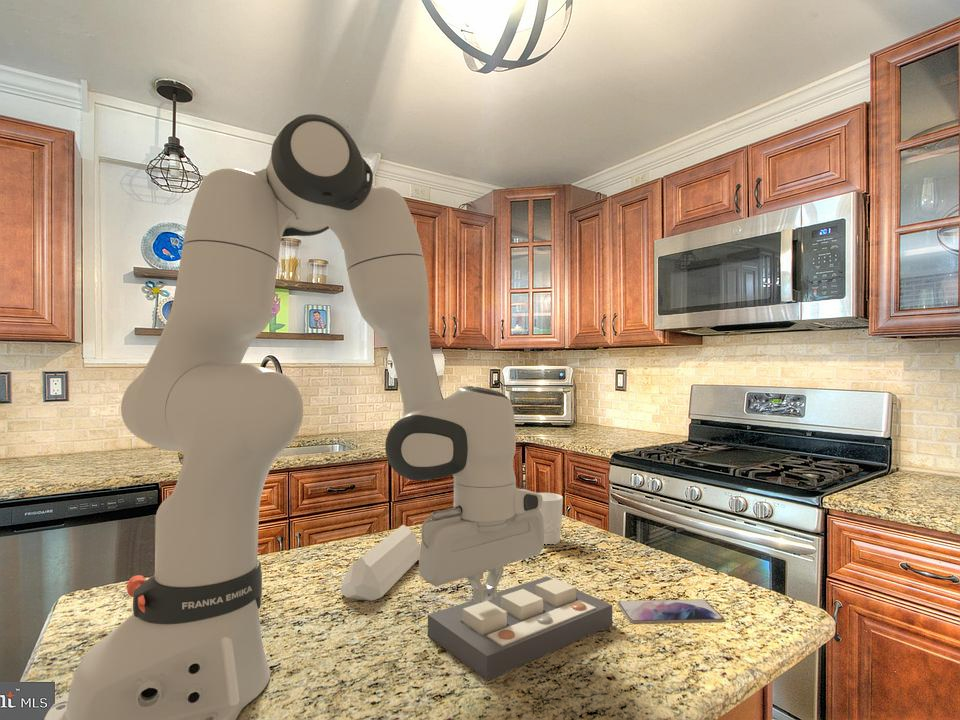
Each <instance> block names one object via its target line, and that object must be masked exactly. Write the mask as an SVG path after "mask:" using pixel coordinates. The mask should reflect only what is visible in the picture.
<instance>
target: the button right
mask: <svg viewBox="0 0 960 720" xmlns="http://www.w3.org/2000/svg"><path fill="white" fill-rule="evenodd" d="M576 587H577V586H574V585H571V584H570V583H567V582H565V581H563V580H560V579H558V578H552V580H549V581H546V582H543V583H540V584H537V585H536V595H537V596H539V597H541V598H543V602H545V603H547V604H549V605H551V606H553V607H559V606H561V605H564V604H567V603H569V602H572V601H575V600H576V589H577V588H576Z"/></svg>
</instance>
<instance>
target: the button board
mask: <svg viewBox="0 0 960 720" xmlns="http://www.w3.org/2000/svg"><path fill="white" fill-rule="evenodd" d="M552 579H553V578H552V577H549V576H543V577H541V578H538V579H533V580H532V581H528V582H524V583H522V584H518V585H515V586H513V587H510V588H506V589H503V590H500V591H497V597H496V598H493V599H491V600H488V601H489V602H491V603H492V604H494V605H496V606H498V607H499V608H501V596H503V595H506V594H509V593H512V592H515V591H518V590H521V589H524V590H526V591H529V592H531V593H533V594H535V595H536V585H537V584H540V583H543V582H546V581H549V580H552ZM476 604H479V603H478V602H476V601H475V600H474V599H472V600H469V601H466V602H463V603H460V604H459V603H458V604H456V605H453V606H450V607H447V608H445V609H441V610H438V611H435V612H431V613H428V614H427V637H429V638H430V639H432V640H433V641H434V642H436V643H437V644H438V645H439V646H441V647H442V648H443V649H445V650H446V651H447V652H449V653H450V654H452V656H454V657H455V658H456V659H458V660H459V661H460V662H461V663H463V664H465V665H466V666H467V667H468V668H470V669H471V671H474V672H475V673H476V674H477V675H479V677H482V678H483V679H484V680H485V681H491V680H492V679H494V678H496V677H499V676H501V675H503V674H506V673H508V672H510V671H512V670H516V668H519V667H522V666H524V665H526V664H528V663H530V662H532V661H535V660H537V659H539V658H541V657H544V656H546V655H548V654H551V653H553V652H554V651H557V650H559V649H561V648H563V647H566V646H569V645H571V644H573V643H575V642H577V641H579V640H582V639H584V638H587V637H588V636H591V635H593V634H596V633H598V632H600V631H602V630H604V629H607V628H609V627H611V626H613V604H611V603H608V602H606V601H605V600H601V599H599V598H597V597H595V596H592V594H588V593H586V592H583V591H581V590H580V589H577V588H576V600H575V601H572V602H569V603H567V604H564V605H561V606H559V607H553V606H551V605H549V604H547V603H545V602H543V613H540V614H537V615H535V616H532V617H529V618H527V619H524V620H521V621H520V620H518V619H516V618H515V617H513V616H511V615H509V614H508V613H507V626H505V627H503V628H500V629H497V630H495V631H492V632H489V633H487V634H484V635H479V634H478V633H476V632H475V631H473V630H472V629H470V628H469V627H467V626H466V625H464V624H463V608H466V607H469V606H473V605H476Z"/></svg>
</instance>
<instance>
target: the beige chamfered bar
mask: <svg viewBox="0 0 960 720" xmlns="http://www.w3.org/2000/svg"><path fill="white" fill-rule="evenodd" d="M420 548H421V544H420V543H419V541H418V539H417V537H416V535H415V533H414V531H413V530H412V529H411V528H409V527H408V526H406V525H405V524H402V525H400V526H399V527H398V528H396V529H395V530H394V531H393V532H392V533H390V534H389V535H387V537H385V538H383V540H381V541H380V542H378V543H377V544H376V545H374V546H373V547H372V548H370V549H369V550H368V551H367V552H365V553H364V554H363V555H362V556H360V557H359V558H358V559H356V560H355V561H354V562H353V563H352V564H351V565H350V566H349V569H348V570H347V572H346V574H345V576H344V578H343V579H342V581H341V585H340V594H341V595H343V596H344V597H345V598H346V599H353V600H354V599H355V600H361V601H362V600H363V601H370V602H373V601H375V600H378V599H381V598H383V597H384V595H385V594H387V592H389V590H390V589H392V587H393V586H394V585H396V583H397V582H398V581H399V580H400V579H401V578H402V577H403V576H404V574H406V573H407V572H408V571H410V569H411V568H412V567H413V566H414V565H415V564H416V563H417V561H419V557H420Z"/></svg>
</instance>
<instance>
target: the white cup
mask: <svg viewBox="0 0 960 720" xmlns="http://www.w3.org/2000/svg"><path fill="white" fill-rule="evenodd" d="M537 493H538V494H541V495H542V498H543V503H542V507H541V508H540V509H539V510H540V511H541V513H542V515H543V522H544V544H554V545H556V544H555V543H558V542H559V543H560V542H561V532H562V531H561V530H562V523H563V522H562V521H563V505H564V503H563V502H564V496H563V495H561V494H559V493H558V494H557V493H553V492H537ZM559 543H558V544H559Z"/></svg>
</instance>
